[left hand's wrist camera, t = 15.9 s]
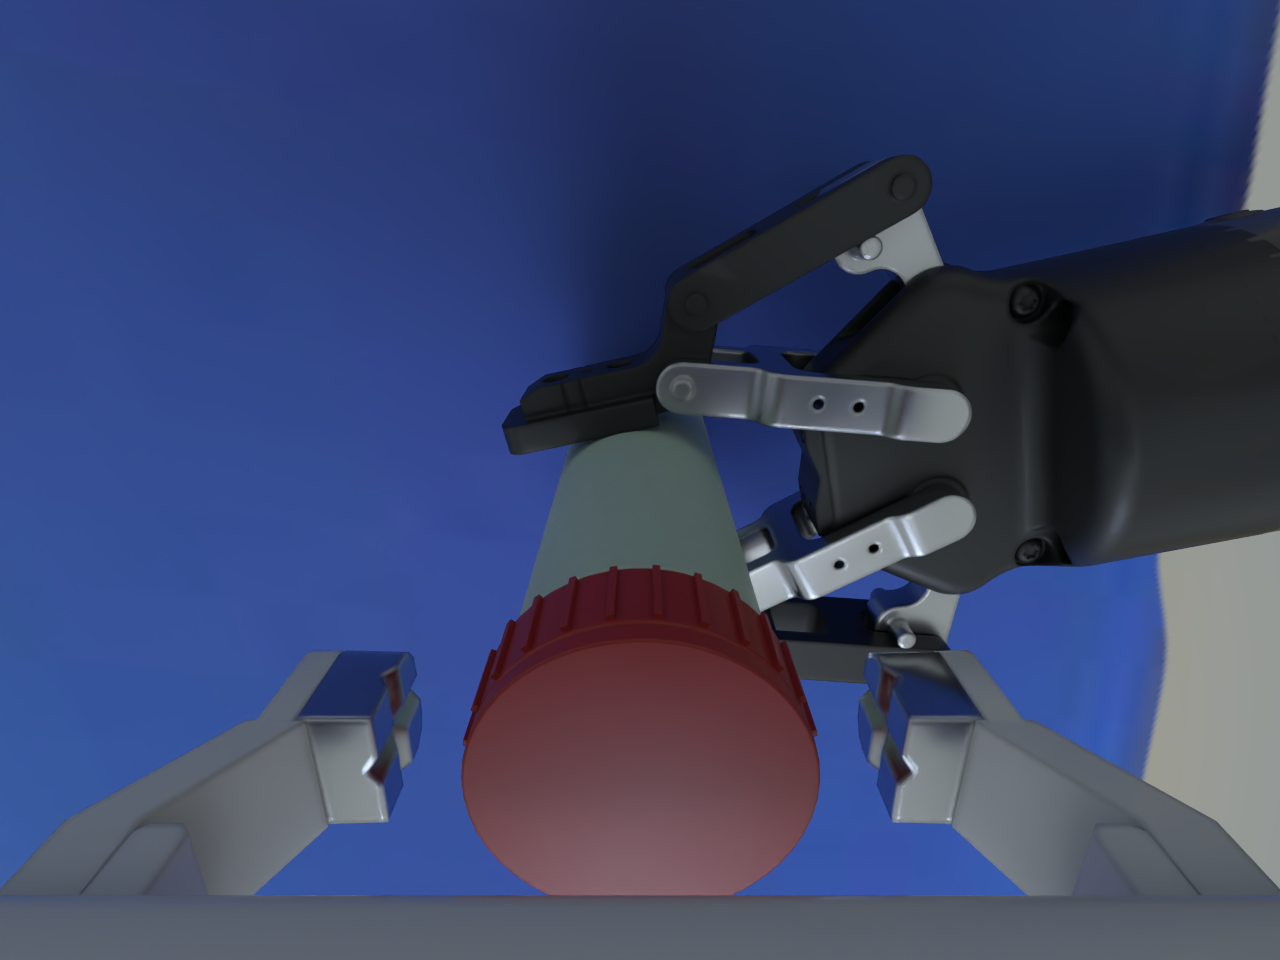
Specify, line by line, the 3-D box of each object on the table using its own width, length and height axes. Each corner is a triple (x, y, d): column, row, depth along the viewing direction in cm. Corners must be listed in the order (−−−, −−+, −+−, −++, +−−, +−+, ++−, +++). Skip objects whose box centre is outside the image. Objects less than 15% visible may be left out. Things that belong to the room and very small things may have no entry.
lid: (593, 499, 9) (583, 563, 8) (863, 663, 10) (904, 752, 9) (428, 732, 11) (390, 827, 9) (678, 857, 12) (684, 962, 10)
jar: (723, 396, 24) (857, 703, 9) (665, 497, 25) (701, 905, 11) (612, 339, 23) (565, 573, 8) (559, 446, 25) (438, 808, 10)
